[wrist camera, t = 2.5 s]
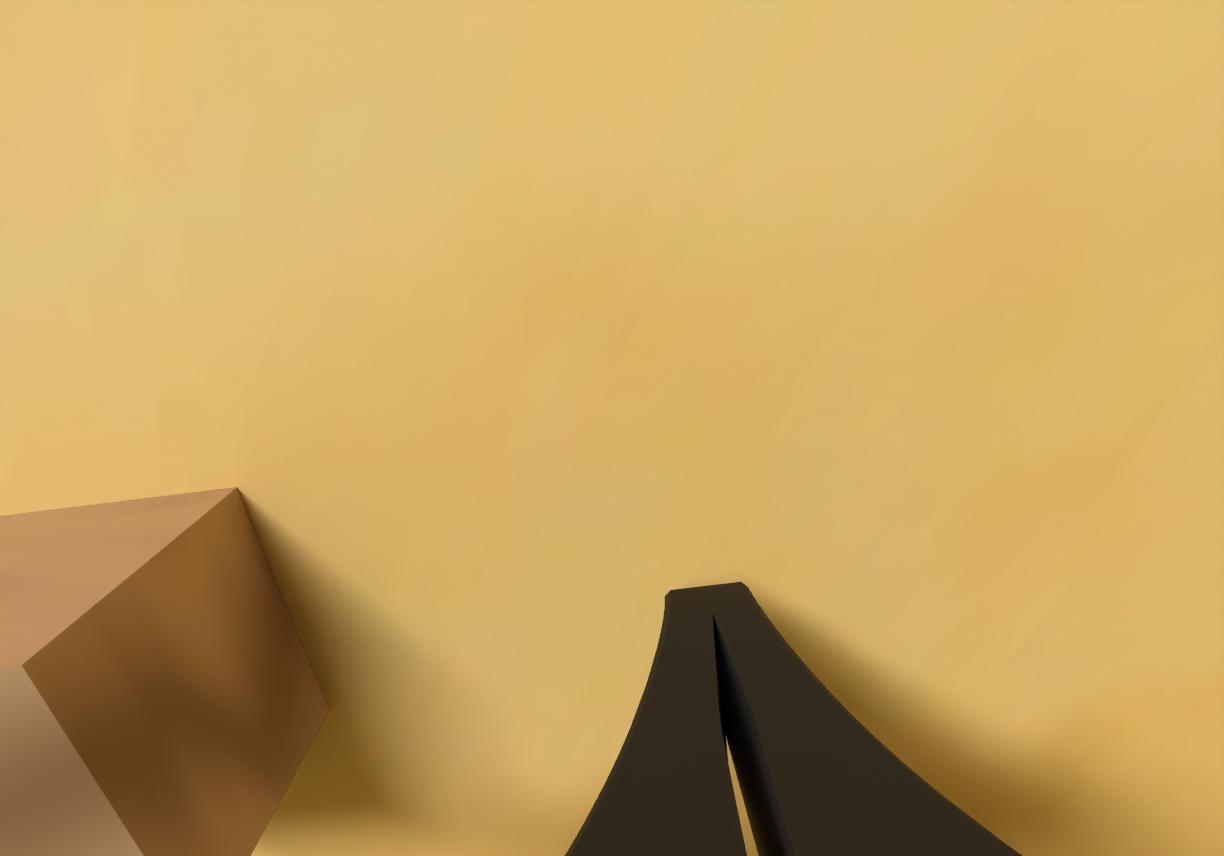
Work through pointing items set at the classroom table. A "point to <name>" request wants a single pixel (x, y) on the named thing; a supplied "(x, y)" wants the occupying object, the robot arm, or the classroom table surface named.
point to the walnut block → (146, 680)
